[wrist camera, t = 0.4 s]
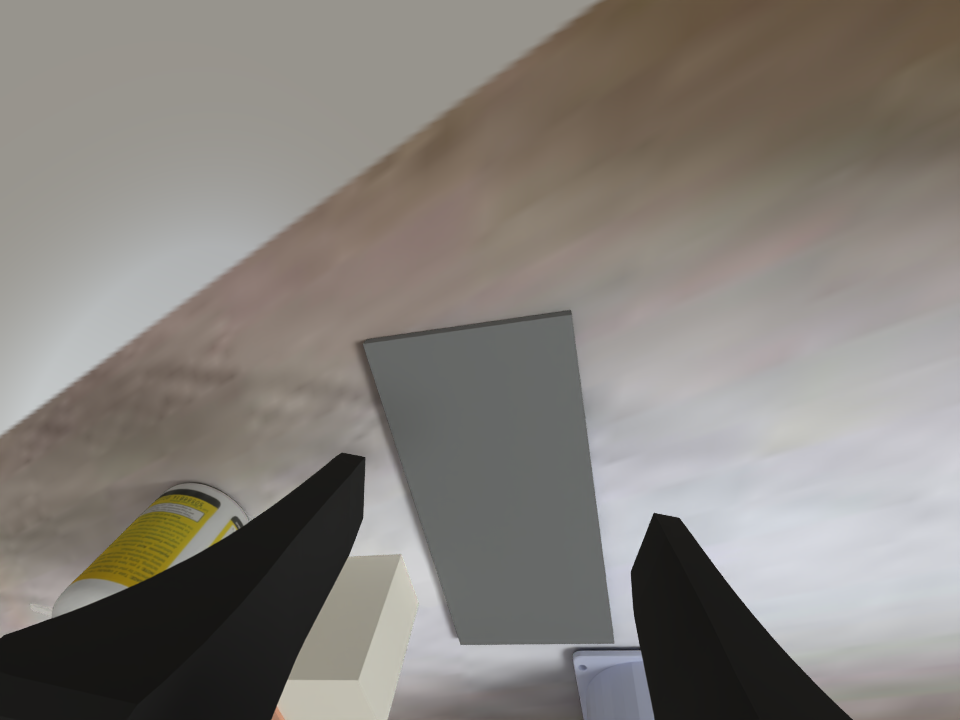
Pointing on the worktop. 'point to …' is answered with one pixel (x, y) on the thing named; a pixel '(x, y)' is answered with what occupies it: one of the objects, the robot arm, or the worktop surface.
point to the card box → (354, 645)
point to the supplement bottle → (156, 542)
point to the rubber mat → (501, 475)
